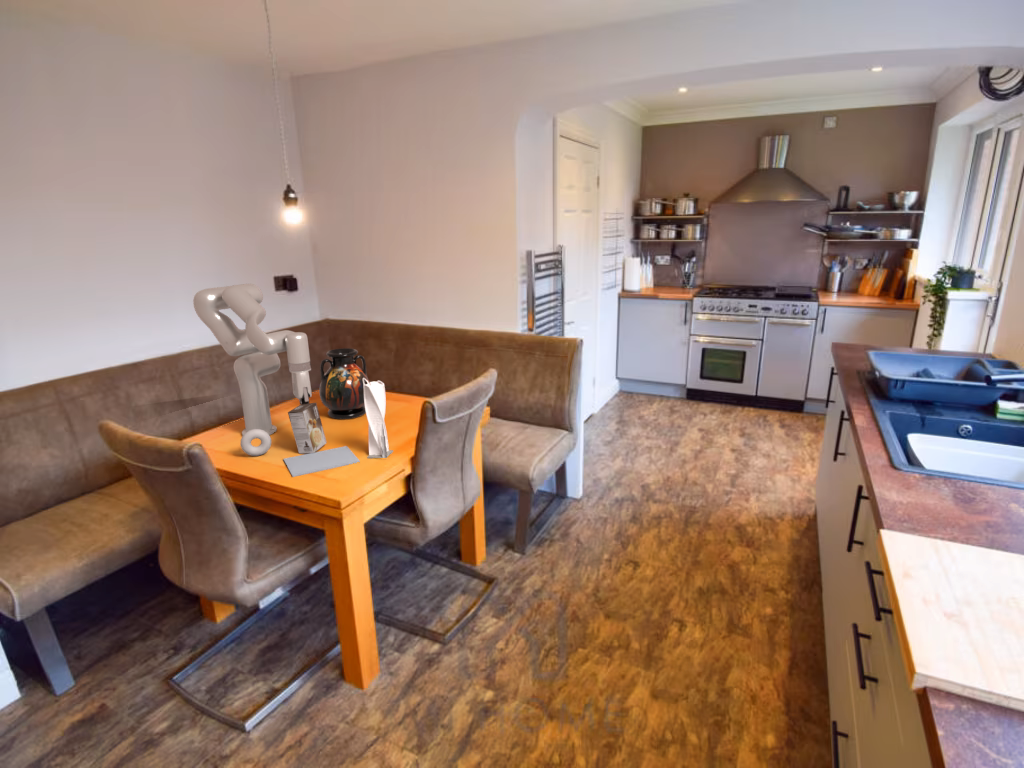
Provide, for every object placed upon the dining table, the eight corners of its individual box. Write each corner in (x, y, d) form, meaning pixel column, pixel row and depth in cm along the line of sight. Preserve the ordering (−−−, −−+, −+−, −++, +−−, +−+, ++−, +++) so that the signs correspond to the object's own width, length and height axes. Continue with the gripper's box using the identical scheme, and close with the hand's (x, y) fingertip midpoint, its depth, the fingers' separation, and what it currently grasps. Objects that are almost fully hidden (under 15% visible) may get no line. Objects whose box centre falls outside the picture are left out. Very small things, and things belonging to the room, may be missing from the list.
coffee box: (311, 443, 208) (301, 403, 203) (327, 443, 206) (317, 402, 202) (298, 454, 199) (287, 411, 195) (314, 453, 198) (303, 410, 193)
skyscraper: (363, 458, 195) (356, 381, 188) (372, 449, 203) (366, 374, 195) (386, 459, 194) (380, 381, 186) (394, 450, 202) (389, 375, 194)
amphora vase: (328, 425, 228) (321, 359, 220) (316, 411, 246) (310, 349, 238) (379, 416, 238) (374, 352, 231) (365, 403, 256) (360, 344, 249)
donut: (242, 459, 194) (238, 433, 192) (242, 456, 198) (238, 429, 195) (273, 454, 198) (269, 428, 196) (272, 451, 202) (269, 425, 199)
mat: (283, 460, 194) (283, 458, 194) (346, 447, 205) (346, 445, 204) (292, 477, 180) (292, 475, 180) (359, 462, 191) (359, 460, 191)
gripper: (285, 364, 206) (291, 411, 211) (293, 372, 194) (299, 421, 199) (306, 361, 210) (311, 407, 215) (315, 369, 198) (321, 418, 203)
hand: (305, 414), depth 207 cm, fingers closed
